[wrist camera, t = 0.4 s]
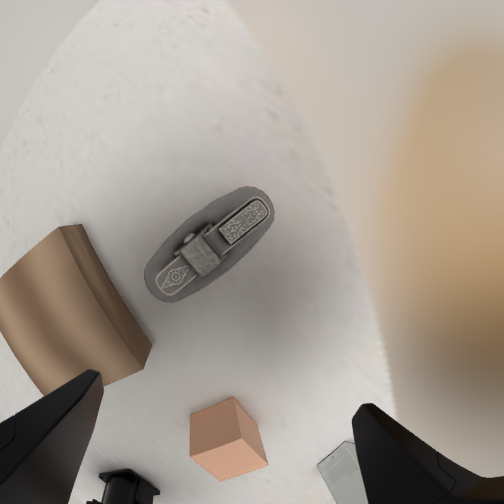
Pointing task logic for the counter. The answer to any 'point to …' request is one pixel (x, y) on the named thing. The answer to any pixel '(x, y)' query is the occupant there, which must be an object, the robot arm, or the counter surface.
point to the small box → (344, 475)
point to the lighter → (209, 244)
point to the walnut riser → (68, 314)
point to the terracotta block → (226, 440)
